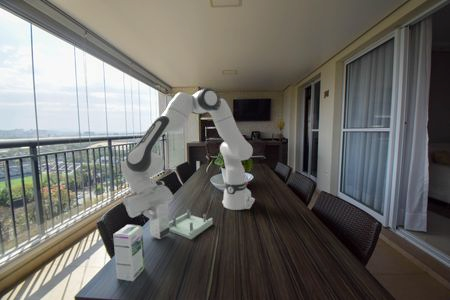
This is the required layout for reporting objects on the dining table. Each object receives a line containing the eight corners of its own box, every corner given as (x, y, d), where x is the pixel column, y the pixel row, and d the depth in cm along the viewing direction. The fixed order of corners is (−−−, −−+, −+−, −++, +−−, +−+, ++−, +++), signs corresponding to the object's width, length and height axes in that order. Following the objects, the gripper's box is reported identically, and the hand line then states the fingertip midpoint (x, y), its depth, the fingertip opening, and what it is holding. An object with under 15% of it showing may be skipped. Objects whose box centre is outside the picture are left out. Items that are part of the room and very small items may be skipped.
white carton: (160, 229, 81) (158, 198, 80) (170, 233, 78) (168, 201, 77) (150, 234, 77) (148, 202, 76) (160, 239, 74) (158, 205, 72)
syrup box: (133, 282, 54) (130, 235, 53) (115, 279, 55) (112, 233, 54) (145, 268, 60) (143, 225, 59) (129, 265, 61) (126, 223, 60)
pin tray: (189, 216, 96) (188, 207, 96) (212, 224, 88) (212, 213, 88) (166, 229, 84) (165, 218, 83) (191, 239, 76) (190, 227, 75)
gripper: (123, 192, 71) (140, 223, 66) (166, 180, 88) (181, 204, 84) (117, 201, 73) (133, 231, 69) (160, 188, 91) (175, 211, 86)
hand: (160, 216), depth 76 cm, fingers closed on white carton, 5 cm apart
